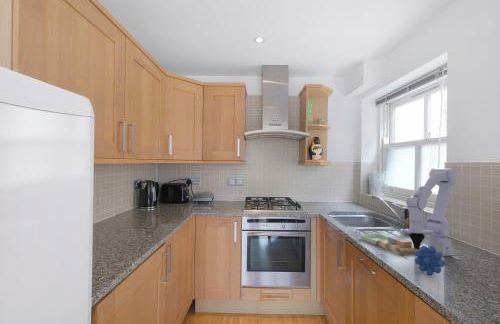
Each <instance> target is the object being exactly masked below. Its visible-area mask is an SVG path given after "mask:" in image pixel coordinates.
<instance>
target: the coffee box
mask: <svg viewBox="0 0 500 324" xmlns="http://www.w3.org/2000/svg"><path fill="white" fill-rule="evenodd" d="M424 211H425V210H424V209H423V215H424V214H425V213H424ZM404 229H410V221H409V210H408V207H407V208H404Z"/></svg>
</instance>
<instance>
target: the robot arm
mask: <svg viewBox="0 0 500 324" xmlns="http://www.w3.org/2000/svg"><path fill="white" fill-rule="evenodd" d="M456 172H457V171H456V170H455V169H454V168H452V167H451V168H448V167H447V168H446V167H445V168H443V167H442V168H437V167H436V168H435V167H434V168H431V169H430V171H429V172H428V175H429V177H428V179H427V180H426V182H425V184H424V185H422V186H419V188H418V189H417V190H416V191H415V193H414V194H413V195H412V196H409V197H407V199H406V207H407V208H408V210H409V221H410V229H405V228H400V229H399V234H401V235H404V234H405V235H406V234H407V235H409V238H410V239H411V242H412V245H414V248H415V249H419V248H420V247H421V245H422V242H423V241H424V239H425V235H427V248H428V247H429V246H433V247H435V249H436V251H439V252H441V253H442V255H443V256H442V257H447V256H448V257H449V256H453V255H454V254H453V253H452V251H453V248H452V240H451V239H450V238H448V237H447V236H448V235H449V234H450V232H451V230H450V229H451V228H450V226H451V225H450V224H451V223H450V222H449V221H448V220H447V219H446V214H447V210H448V205H449V201H450V197H451V192H452V189H453V187H454V186H455V184H456V180H457V176H458V175H457V173H456ZM436 186H438V191H437V194H436V200H435V203H434V207H433V211H432V214H431V215H429V216H426V219H425V220H424V214H423V210H424V209H425V208H426V207H427V203H428V199H429V197H430V196H432V193H433V191H432V189H434V188H435V187H436Z"/></svg>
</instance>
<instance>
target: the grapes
mask: <svg viewBox="0 0 500 324" xmlns="http://www.w3.org/2000/svg"><path fill="white" fill-rule="evenodd" d="M420 247H421V248H420V250H417V251H416V253H415V254H414V255H415V256H416V258H415V259H414V264H415V263H416V265H418V269H419V271H421V272H423V273H424V272H425V273H426V274H427V275H429V276H432V275H434V274H440V273H441V272H442V268H443V267H444V266H445V264H446V263H445V261H444V260H443V259H442V258H443V257H444V256H443V255H442V253H441V252H439V251H436V249H435V247H433V246H429V247H428V246H426V245H422V246H420Z"/></svg>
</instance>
